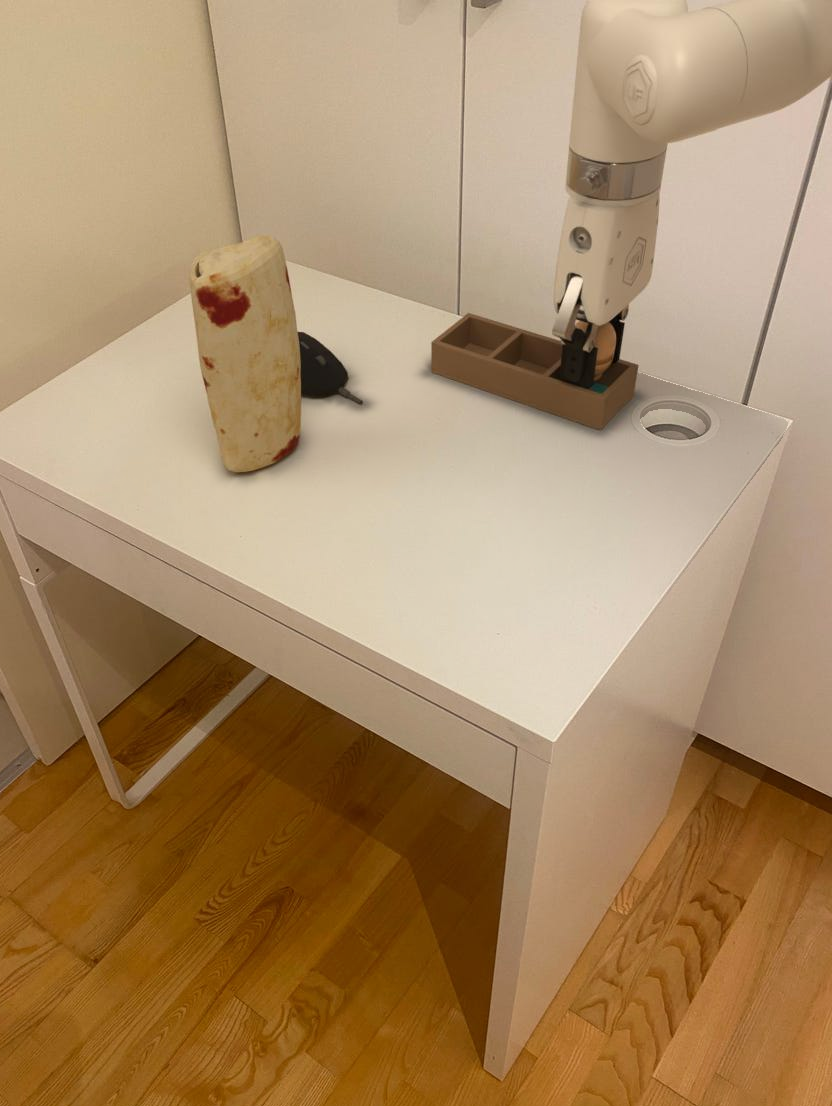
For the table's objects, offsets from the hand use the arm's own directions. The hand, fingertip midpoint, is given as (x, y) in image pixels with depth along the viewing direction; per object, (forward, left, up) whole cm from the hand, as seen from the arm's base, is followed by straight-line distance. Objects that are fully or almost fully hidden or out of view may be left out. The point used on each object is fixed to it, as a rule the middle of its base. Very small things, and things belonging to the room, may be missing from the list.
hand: (589, 368), depth 92 cm
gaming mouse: (+28, +1, -4) cm, 28 cm away
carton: (+6, -2, -4) cm, 7 cm away
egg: (0, 0, -1) cm, 1 cm away
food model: (+28, +14, -4) cm, 31 cm away
